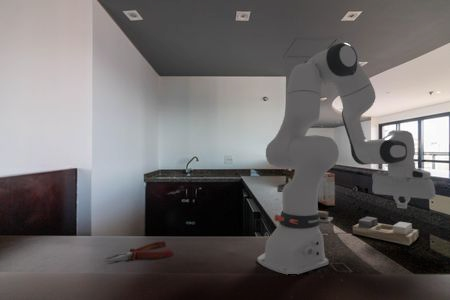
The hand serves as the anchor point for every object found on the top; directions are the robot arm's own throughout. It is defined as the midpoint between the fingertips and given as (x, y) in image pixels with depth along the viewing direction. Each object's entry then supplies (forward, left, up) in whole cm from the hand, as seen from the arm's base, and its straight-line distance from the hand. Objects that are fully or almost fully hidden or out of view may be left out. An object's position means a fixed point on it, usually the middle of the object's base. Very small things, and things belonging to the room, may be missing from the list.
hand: (402, 207), depth 100 cm
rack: (0, +6, -12) cm, 14 cm away
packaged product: (+4, +40, -13) cm, 43 cm away
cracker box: (+47, +56, -12) cm, 74 cm away
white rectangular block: (0, 0, -10) cm, 10 cm away
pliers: (-81, +54, -13) cm, 99 cm away
